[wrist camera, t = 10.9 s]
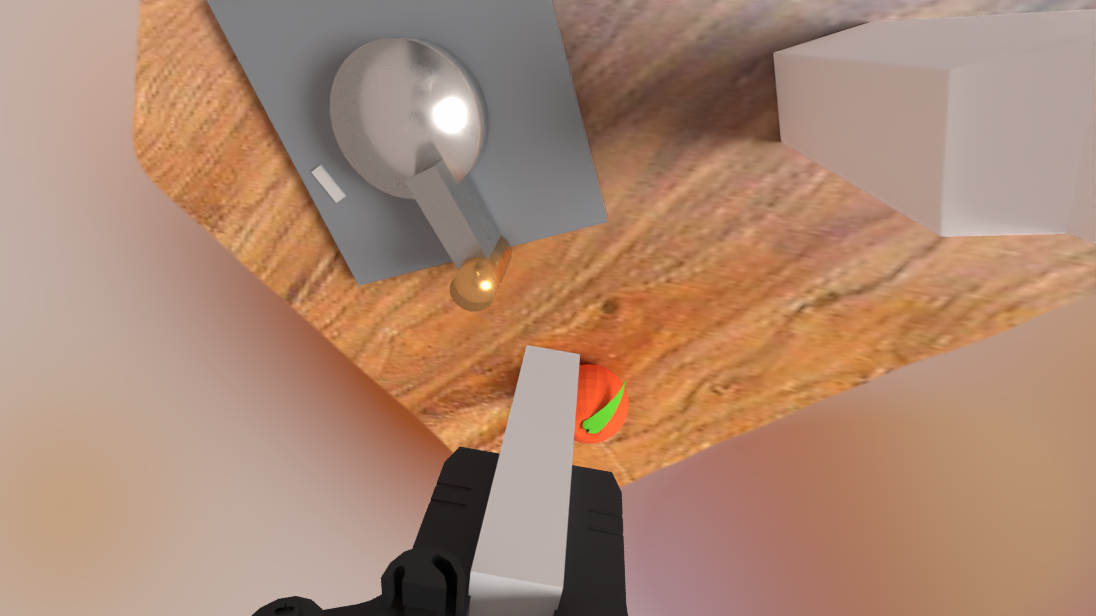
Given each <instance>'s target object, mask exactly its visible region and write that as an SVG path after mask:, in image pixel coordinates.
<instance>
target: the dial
mask: <svg viewBox="0 0 1096 616" xmlns="http://www.w3.org/2000/svg"><path fill="white" fill-rule="evenodd" d="M330 118H331V123H332V128H333V131H334V134H335V137H336V140H337V142H338V145H339V147H340V149H341V151H342V152H343V154H344V156H345V158H346V159H347V160H348V162H349V163H350V164H351V166H352V167H353V168H354V169H355V170H356V171H357V173H358V174H359V175H361V176H362V177H363V178H364V179H365V180H366V181H367V182H369V183H370V184H372V185H373V186H374V187H376V188H378V189H380V190H381V191H383V192H386V193H388V194H390V195H393V196H397V197H400V198H406V199H415V200H416V201H417V203H418V205H419V206H420V208H421V210H422V211H423V213H424V215H425V216H426V218H427V220H428V221H429V223H430V224H431V226H432V228H433V229H434V231H435V233H436V234H437V236H438V238H439V239H440V241H441V243H442V244H443V246H444V248H445V249H446V251H447V253H448V254H449V256H450V258H451V259H452V261H453V263H454V264H455V266H456V267H457V269H458V272H457V274H456V275H455V277H454V279H453V280H452V282H451V285H450V293H451V296H452V298H453V300H454V301H455V303H456V304H457V305H458V306H460V307H461V308H463V309H465V310H468V311H481V310H484V309H486V308H487V307H489V306H490V304H491V303H492V301H493V299H494V296H495V294H496V292H497V289H498V287H499V284H500V283H501V281H502V279H503V276H504V274H505V272H506V269H507V267H508V264H509V262H510V260H511V257H512V255H511V254H512V250H511V246H510V244H509V242H508V241H507V240H506V239H505V238H504V237H503V236H501V235H500V233H499V231H498V229H497V228H496V226H495V224H494V222H493V220H492V218H491V217H490V215H489V213H488V211H487V209H486V207H485V206H484V204H483V202H482V200H481V198H480V196H479V194H478V193H477V191H476V189H475V187H474V185H473V183H472V182H471V180H470V178H469V176H468V173H469V172H470V171H471V170H472V169H473V168H474V167H475V165H476V164H477V162H478V161H479V159H480V157H481V155H482V153H483V151H484V148H485V145H486V142H487V137H488V128H489V120H488V110H487V105H486V101H485V98H484V95H483V92H482V90H481V87H480V85H479V83H478V82H477V80H476V78H475V76H474V75H473V73H472V72H471V71H470V69H469V68H468V67H467V66H466V65H465V64H464V62H463V61H462V60H461V59H460V58H458V57H457V56H456V55H455V54H454V53H452V52H451V51H449V50H448V49H446V48H445V47H443V46H441V45H439V44H437V43H434V42H431V41H428V40H425V39H419V38H384V39H378V40H374V41H371V42H368V43H366V44H364V45H362V46H361V47H359V48H358V49H356V50H355V51H354V52H352V53H351V54H350V55H349V56H348V57H347V58H346V59H345V61H344V62H343V63H342V65H341V66H340V68H339V70H338V72H337V74H336V76H335V79H334V82H333V85H332V89H331V95H330Z"/></svg>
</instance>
